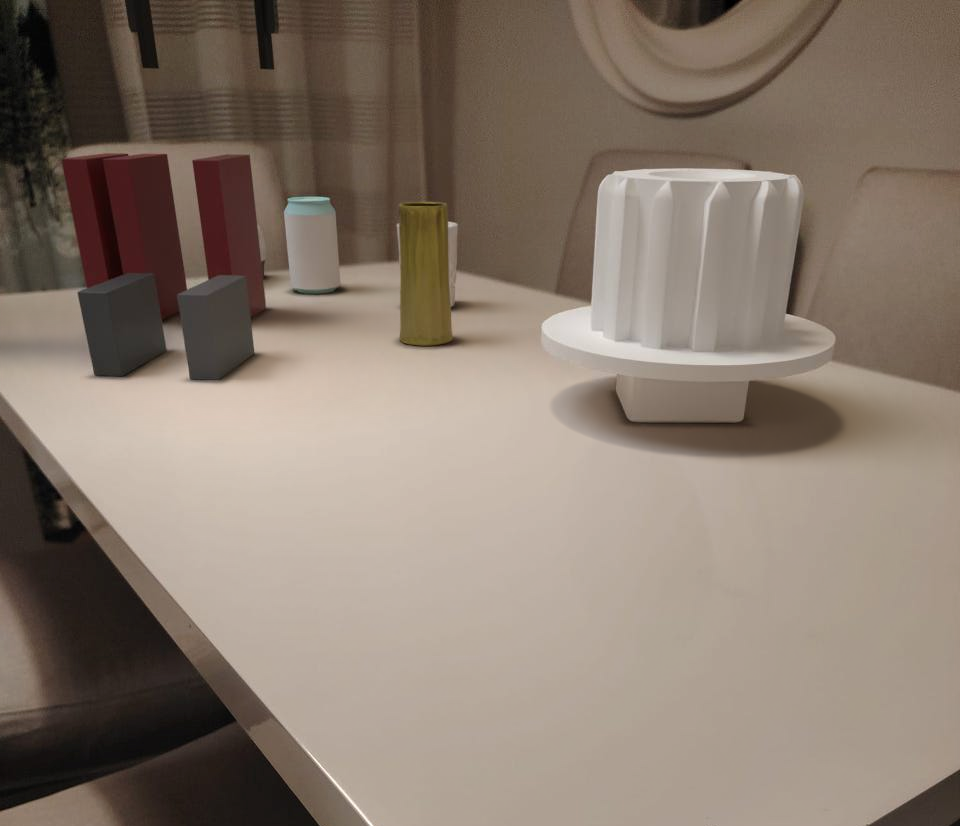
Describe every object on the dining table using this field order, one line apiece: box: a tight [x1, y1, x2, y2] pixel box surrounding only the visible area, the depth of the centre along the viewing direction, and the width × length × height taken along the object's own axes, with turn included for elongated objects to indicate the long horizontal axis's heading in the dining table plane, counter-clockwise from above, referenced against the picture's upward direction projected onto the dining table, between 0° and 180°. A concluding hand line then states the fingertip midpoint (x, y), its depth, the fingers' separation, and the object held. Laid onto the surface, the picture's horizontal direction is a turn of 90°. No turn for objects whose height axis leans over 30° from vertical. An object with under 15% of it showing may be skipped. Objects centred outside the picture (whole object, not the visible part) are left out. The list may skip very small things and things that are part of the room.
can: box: [283, 196, 341, 295], centre depth 132 cm, size 7×7×12 cm
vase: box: [398, 201, 454, 347], centre depth 104 cm, size 6×6×14 cm
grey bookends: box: [77, 273, 256, 381], centre depth 96 cm, size 13×11×8 cm
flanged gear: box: [540, 167, 836, 424], centre depth 80 cm, size 25×25×19 cm
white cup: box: [396, 221, 459, 308], centre depth 123 cm, size 8×8×10 cm
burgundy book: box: [191, 153, 267, 318], centre depth 114 cm, size 3×11×18 cm, turn 173°
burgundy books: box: [60, 152, 188, 321], centre depth 116 cm, size 8×11×18 cm
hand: (208, 69), depth 105 cm, fingers open, 13 cm apart
